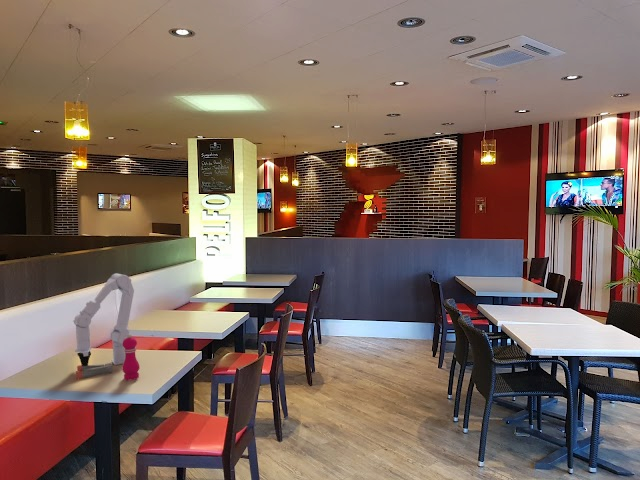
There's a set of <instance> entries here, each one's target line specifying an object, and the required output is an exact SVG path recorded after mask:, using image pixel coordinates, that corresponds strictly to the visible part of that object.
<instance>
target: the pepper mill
mask: <svg viewBox="0 0 640 480" xmlns="http://www.w3.org/2000/svg"><path fill="white" fill-rule="evenodd" d="M127 337H128V338H126V339H124V341H123V347H124V348H125V349H124V352H125V361H124V363H123V364H122V372H123V373H124V375H123V379H124V380H125V381H134V380H136V379H138V378H139V377H140V373H139V371H140V363H139V362H138V361H139V360H138V359H137V357H136V356H137V355H136V352H137V345H138V341H137V339H136V338H135V337H132V334H131V333H129V334H128V335H127Z"/></svg>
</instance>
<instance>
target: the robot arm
mask: <svg viewBox="0 0 640 480" xmlns="http://www.w3.org/2000/svg"><path fill="white" fill-rule="evenodd" d="M116 290H119V291H120V293H121V297H120V304H119V310H118V315H117V319H116V324H115V326H114V327H113V330H112V332H111V333H110V340H111V341H112V352H113V353H112V356H113V357H112V358H113V359H112V360H111V362H112V363H113V364H112V365H114V366H116V365H117V366H118V365H121V364H122V365H123V364H124V361H125V352H124V349H125V348H124V347H123V341H124V339H126V338H128V337H127V335H128V334H130V328H129V323H130V322H129V321H130V316H131V309H132V305H133V298H134V293H135V289H134V286H133V283H132V279H131V278H130V277H129V276H128V275H126V274H121V273H118V272H117V273H113V274H111V276H110V277H109V278H108V279H107V281H106V282H105V285H103V287H102V289H101V290H100V291H99V293H97V295H96V297H95V298H94V299H92V300H89V301H87V302H86V303H85V306H84V308H83V309H82V310H80V311H79V314H77V315H76V316H75V317H74V319H73V323H74V325H75V333H76V334H75V336H76V349H74V350H73V351H74V352H75V353H77V357H78V358H79V361H80V364H81V365H89V362H90V358H91V355H92V352H91V350H92V346H91V335H90V331H91V330H90V325H91V323H92V319H93V318H94V317H95V315H96V314H97V312H98V311H99V310H100V309H101V303H103V301H104V300H105V299H106V298H107V297H108V295H110V293H111V292H113V291H116Z"/></svg>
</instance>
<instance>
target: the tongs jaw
mask: <svg viewBox="0 0 640 480" xmlns="http://www.w3.org/2000/svg"><path fill="white" fill-rule="evenodd" d="M102 366H105V364H88V365H77V366H76V368H77V369H76V371H80V370H85V369H91V368H96V367H102Z"/></svg>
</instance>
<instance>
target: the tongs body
mask: <svg viewBox="0 0 640 480" xmlns="http://www.w3.org/2000/svg"><path fill="white" fill-rule="evenodd" d="M112 363H113V362H112ZM112 363H111V362H109V363H108V362H107V363H105V364H104V366H102V367H96V368H91V369H85V370H80V371H77V370H75V379H76V380H82V379H86V378H92V377H97V376H102V375H108V374H112V373H113V364H112Z"/></svg>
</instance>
